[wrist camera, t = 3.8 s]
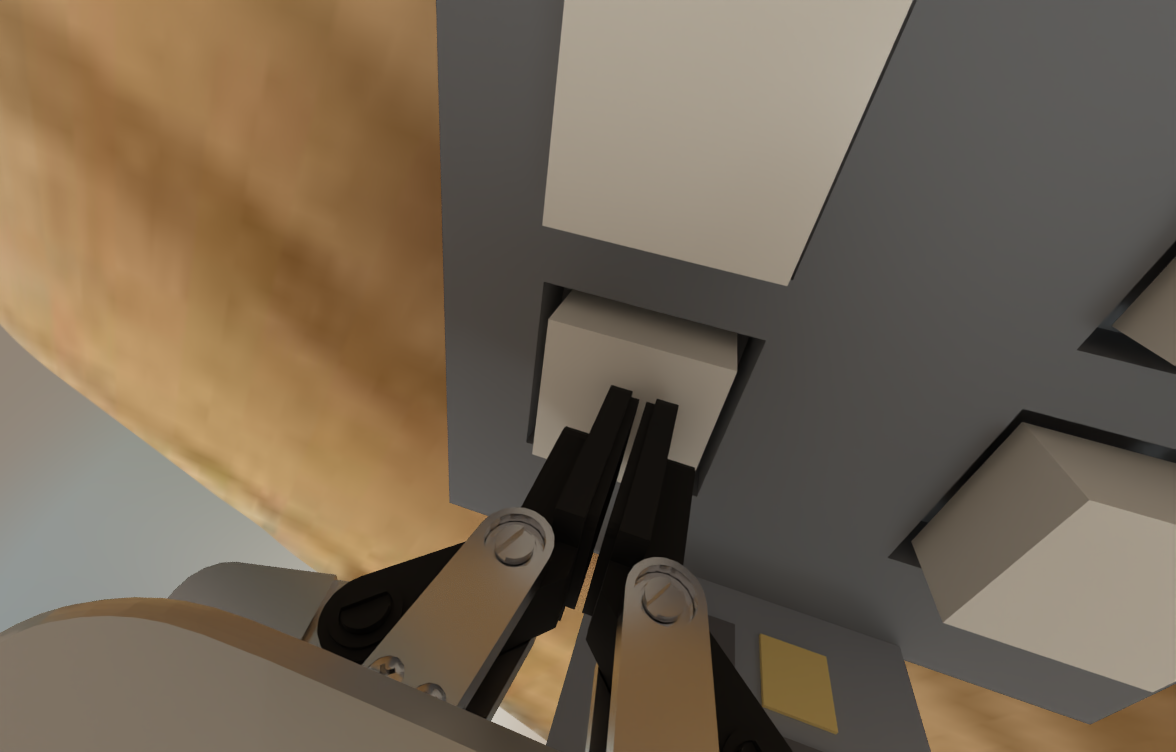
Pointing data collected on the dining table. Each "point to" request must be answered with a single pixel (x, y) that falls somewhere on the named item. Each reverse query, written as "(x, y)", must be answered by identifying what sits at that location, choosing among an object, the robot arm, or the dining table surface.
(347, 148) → the dining table surface
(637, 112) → the button
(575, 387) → the button
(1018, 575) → the button
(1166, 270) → the button
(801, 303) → the board
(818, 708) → the card
